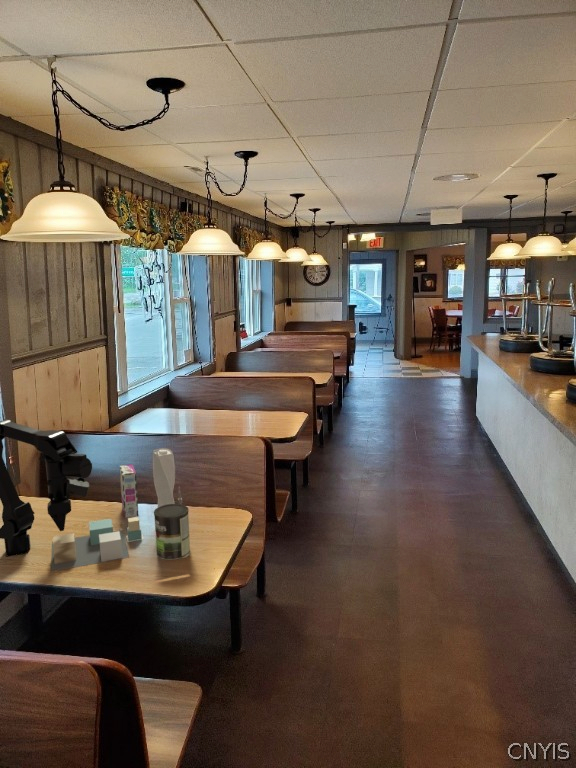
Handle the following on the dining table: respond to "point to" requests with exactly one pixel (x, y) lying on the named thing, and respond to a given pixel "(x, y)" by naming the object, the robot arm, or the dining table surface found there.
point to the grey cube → (110, 546)
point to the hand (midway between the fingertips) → (62, 524)
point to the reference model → (134, 530)
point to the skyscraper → (164, 476)
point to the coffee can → (172, 531)
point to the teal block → (99, 529)
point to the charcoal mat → (87, 553)
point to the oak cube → (64, 548)
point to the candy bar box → (129, 491)
